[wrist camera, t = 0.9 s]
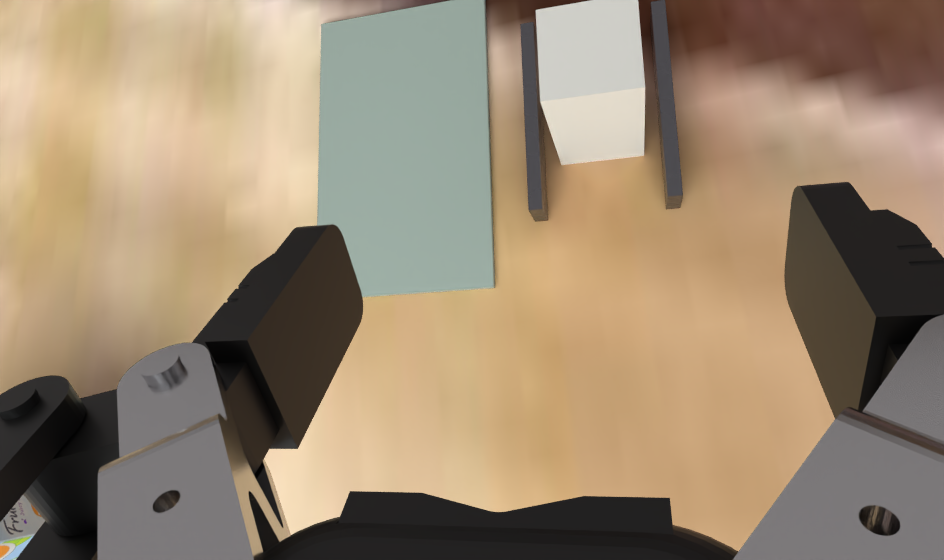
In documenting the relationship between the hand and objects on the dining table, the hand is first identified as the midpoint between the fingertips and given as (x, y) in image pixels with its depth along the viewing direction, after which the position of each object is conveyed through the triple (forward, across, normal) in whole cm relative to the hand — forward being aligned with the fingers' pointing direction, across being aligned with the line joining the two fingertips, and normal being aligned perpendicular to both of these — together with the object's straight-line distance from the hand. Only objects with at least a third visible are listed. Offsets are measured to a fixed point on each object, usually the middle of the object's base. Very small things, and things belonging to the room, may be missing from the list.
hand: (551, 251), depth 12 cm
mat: (+29, +13, +9) cm, 33 cm away
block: (+29, 0, +8) cm, 31 cm away
